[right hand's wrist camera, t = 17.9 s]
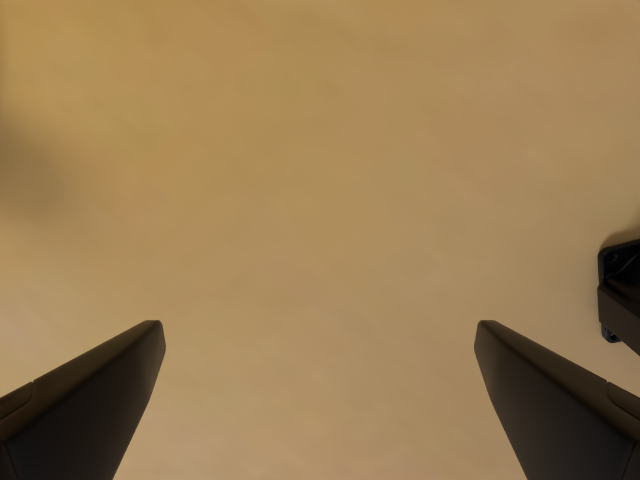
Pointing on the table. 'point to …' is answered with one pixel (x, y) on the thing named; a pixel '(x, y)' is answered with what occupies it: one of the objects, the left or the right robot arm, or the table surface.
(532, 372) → the right robot arm
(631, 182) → the table surface
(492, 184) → the table surface
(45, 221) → the table surface
